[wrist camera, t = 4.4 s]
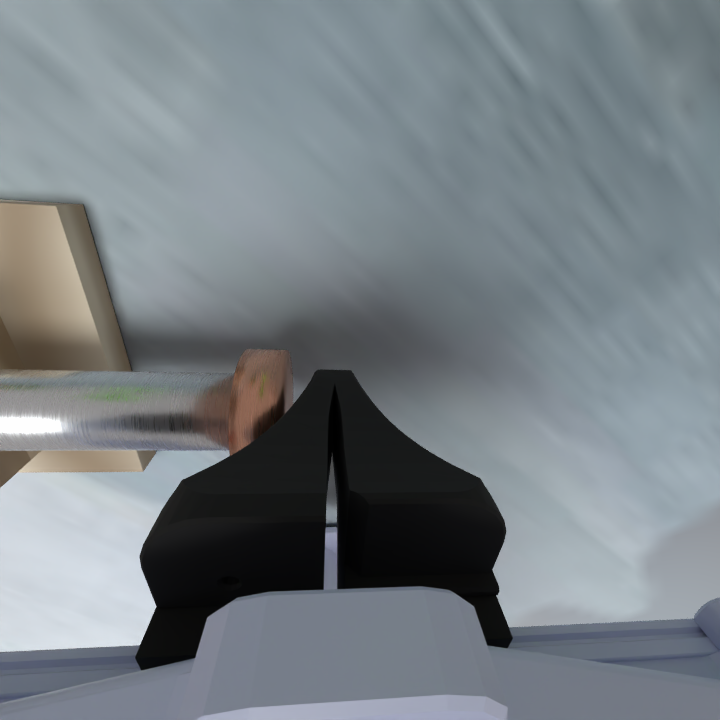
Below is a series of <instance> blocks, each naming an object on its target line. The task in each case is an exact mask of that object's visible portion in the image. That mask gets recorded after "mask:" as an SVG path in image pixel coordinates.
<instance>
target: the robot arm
mask: <svg viewBox="0 0 720 720" xmlns="http://www.w3.org/2000/svg"><path fill="white" fill-rule="evenodd" d="M332 454H333V464H334V475H335V485H336V496H337V527H326V499H327V489H328V481H329V473H330V465H331V457H332ZM505 535H506V527H505V522H504V519H503V517H502V515H501V513H500V511H499V509H498V507H497V505H496V503H495V502H494V500H493V498H492V496H491V495H490V493H489V492H488V490H487V489H486V487H485V486H484V484H483V482H482V481H481V479H480V478H478V477H476V476H474V475H472V474H470V473H468V472H466V471H464V470H462V469H460V468H458V467H456V466H454V465H452V464H450V463H448V462H446V461H444V460H443V459H441V458H439V457H437V456H436V455H434V454H432V453H431V452H429V451H428V450H426V449H424V448H423V447H421V446H420V445H419V444H417V443H416V442H414V441H413V440H412V439H410V438H409V437H408V436H406V435H405V434H404V433H403V432H401V431H400V430H399V429H398V428H397V427H396V426H394V425H393V424H392V423H391V422H390V421H389V420H388V419H387V418H386V417H385V416H384V415H383V414H382V413H381V411H380V410H379V409H378V408H377V407H376V406H375V405H374V403H373V402H372V401H371V399H370V398H369V397H368V395H367V394H366V393H365V391H364V390H363V388H362V387H361V385H360V384H359V382H358V381H357V379H356V377H355V375H354V373H353V372H352V371H351V370H317V371H316V372H315V373H314V376H313V378H312V379H311V381H310V383H309V384H308V386H307V387H306V389H305V390H304V391H303V393H302V394H301V395H300V397H299V398H298V399H297V401H296V402H295V403H294V404H293V405H292V406H291V407H290V409H289V410H288V411H287V412H286V413H285V414H284V415H283V416H282V417H281V418H280V419H279V420H278V421H277V422H276V423H275V424H274V425H273V426H272V427H270V428H269V429H268V430H267V431H266V432H264V433H263V434H262V435H261V436H259V437H258V438H257V439H255V440H254V441H253V442H251V443H250V444H248V445H247V446H245V447H244V448H242V449H241V450H239V451H238V452H236V453H234V454H233V455H231V456H229V457H227V458H226V459H224V460H222V461H220V462H219V463H217V464H215V465H213V466H211V467H209V468H207V469H205V470H202V471H200V472H198V473H196V474H194V475H192V476H190V477H188V478H186V479H183V480H182V481H181V482H180V484H179V486H178V487H177V489H176V490H175V491H174V493H173V494H172V495H171V497H170V498H169V500H168V501H167V503H166V504H165V506H164V508H163V509H162V511H161V513H160V514H159V516H158V518H157V520H156V522H155V524H154V526H153V527H152V529H151V531H150V533H149V535H148V537H147V539H146V540H145V542H144V544H143V547H142V550H141V553H140V562H141V568H142V571H143V573H144V576H145V578H146V581H147V583H148V586H149V588H150V591H151V594H152V596H153V599H154V601H155V604H156V606H157V607H156V609H155V612H154V614H153V616H152V619H151V621H150V623H149V626H148V628H147V630H146V633H145V635H144V637H143V640H142V642H141V644H140V645H139V646H118V647H97V648H77V649H56V650H35V651H15V652H0V720H720V598H716V599H714V600H711V601H709V602H707V603H706V604H704V605H703V606H702V607H701V608H700V609H699V610H698V611H697V613H696V614H695V616H694V619H675V620H655V621H636V622H635V621H634V622H613V623H593V624H574V625H573V624H572V625H551V626H531V627H510V628H509V627H508V624H507V622H506V619H505V617H504V614H503V612H502V609H501V607H500V604H499V602H498V599H497V597H496V595H498V593H499V585H498V583H497V581H496V578H495V576H494V573H493V571H492V569H493V567H494V564H495V562H496V559H497V557H498V555H499V552H500V550H501V548H502V545H503V543H504V539H505Z"/></svg>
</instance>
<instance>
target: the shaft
mask: <svg viewBox="0 0 720 720" xmlns="http://www.w3.org/2000/svg"><path fill="white" fill-rule="evenodd" d="M292 405H293V373H292V363H291V357H290V353H289V351H288V350H267V349H247V350H245V351H244V352H243V354H242V355H241V357H240V359H239V362H238V364H237V367H236V371H235V374H228V373H176V372H124V371H73V370H21V369H0V451H36V450H229V452H230V456H231V455H233V454H234V453H236V452H238V451H239V450H241V449H242V448H244V447H245V446H247V445H248V444H250V443H251V442H253V441H254V440H255V439H257V438H258V437H259V436H261V435H262V434H263V433H264V432H266V431H267V430H268V429H269V428H270V427H272V426H273V425H274V424H275V423H276V422H277V421H278V420H279V419H280V418H281V417H282V416H283V415H284V414H285V413H286V412H287V411H288V410H289V409H290V407H291V406H292Z"/></svg>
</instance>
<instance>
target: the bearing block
mask: <svg viewBox="0 0 720 720" xmlns="http://www.w3.org/2000/svg"><path fill="white" fill-rule="evenodd" d="M0 369H21V370H73V371H124V372H132V370H131V367H130V363H129V360H128V356H127V353H126V350H125V346H124V343H123V339H122V336H121V333H120V329H119V326H118V322H117V319H116V315H115V312H114V309H113V305H112V302H111V298H110V295H109V292H108V288H107V285H106V281H105V278H104V275H103V271H102V268H101V264H100V261H99V258H98V254H97V251H96V247H95V244H94V241H93V237H92V234H91V230H90V227H89V224H88V220H87V217H86V213H85V210H84V207H83V205H82V204H66V203H50V202H33V201H17V200H1V199H0ZM155 454H156V452H155V450H36V451H0V487H1V486H3V485H4V484H5V483H6V482H7V481H8V480H9V479H10V478H12V477H13V476H14V475H15V474H16V473H17V472H143V471H144V470H145V468H146V467H147V465H148V464H149V462H150V461H151V459H152V458H153V456H154V455H155Z"/></svg>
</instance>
